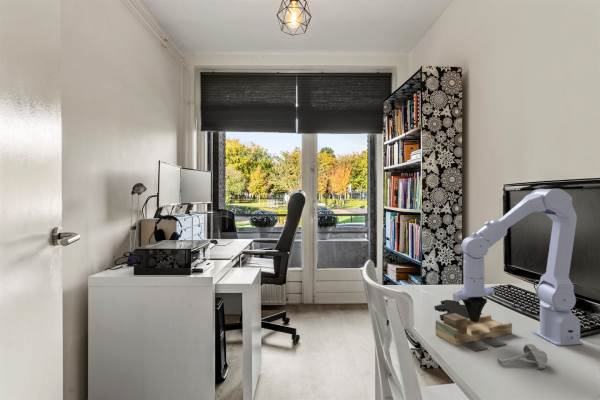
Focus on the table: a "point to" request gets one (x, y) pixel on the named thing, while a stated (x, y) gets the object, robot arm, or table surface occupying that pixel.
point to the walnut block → (456, 322)
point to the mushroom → (529, 356)
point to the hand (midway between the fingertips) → (474, 321)
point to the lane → (475, 333)
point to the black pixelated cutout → (452, 308)
